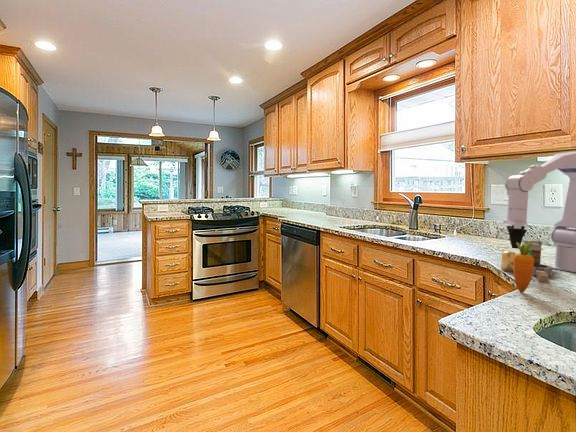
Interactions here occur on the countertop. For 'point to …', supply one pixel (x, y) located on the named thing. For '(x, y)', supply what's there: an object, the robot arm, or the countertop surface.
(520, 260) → the carrot
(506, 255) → the peg
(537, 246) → the food container
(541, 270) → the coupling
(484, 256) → the countertop surface
